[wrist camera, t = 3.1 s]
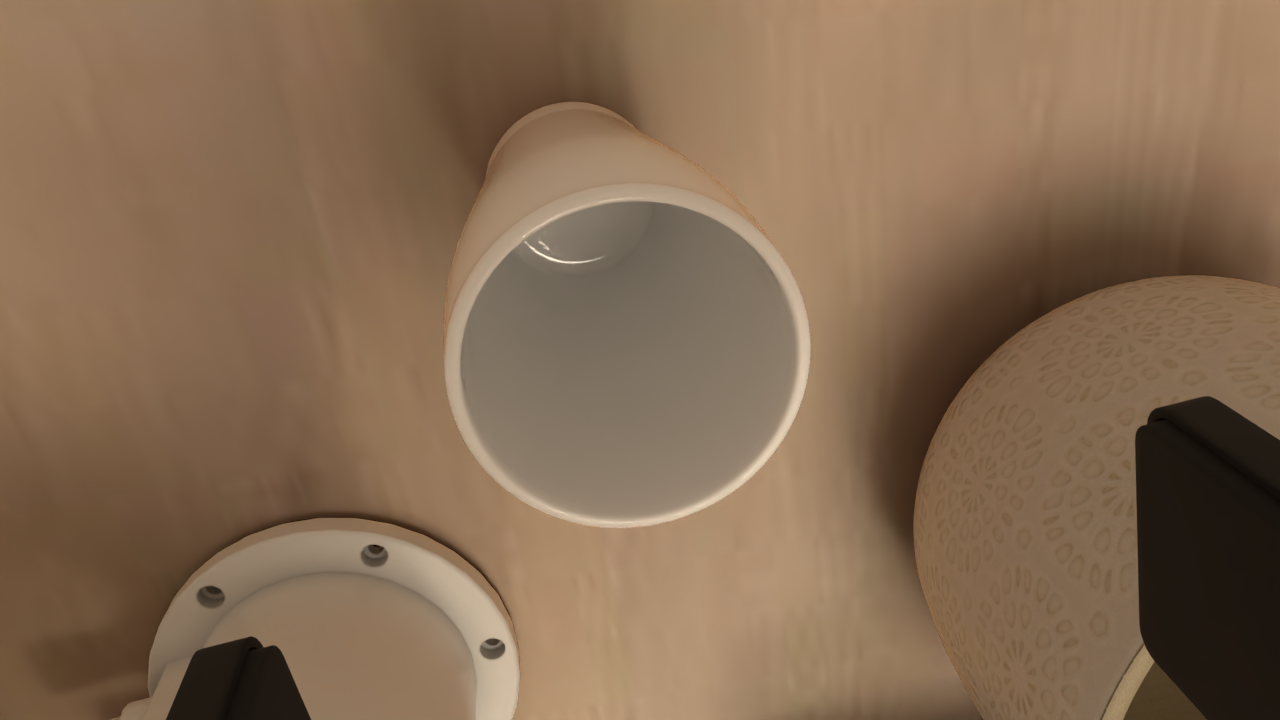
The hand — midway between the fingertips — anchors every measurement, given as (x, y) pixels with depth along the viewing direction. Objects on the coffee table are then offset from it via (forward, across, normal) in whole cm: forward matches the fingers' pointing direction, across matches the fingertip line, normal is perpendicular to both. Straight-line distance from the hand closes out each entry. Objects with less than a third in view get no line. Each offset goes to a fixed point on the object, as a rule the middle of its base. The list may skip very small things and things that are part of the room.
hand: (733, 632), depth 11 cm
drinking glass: (+23, 0, 0) cm, 23 cm away
